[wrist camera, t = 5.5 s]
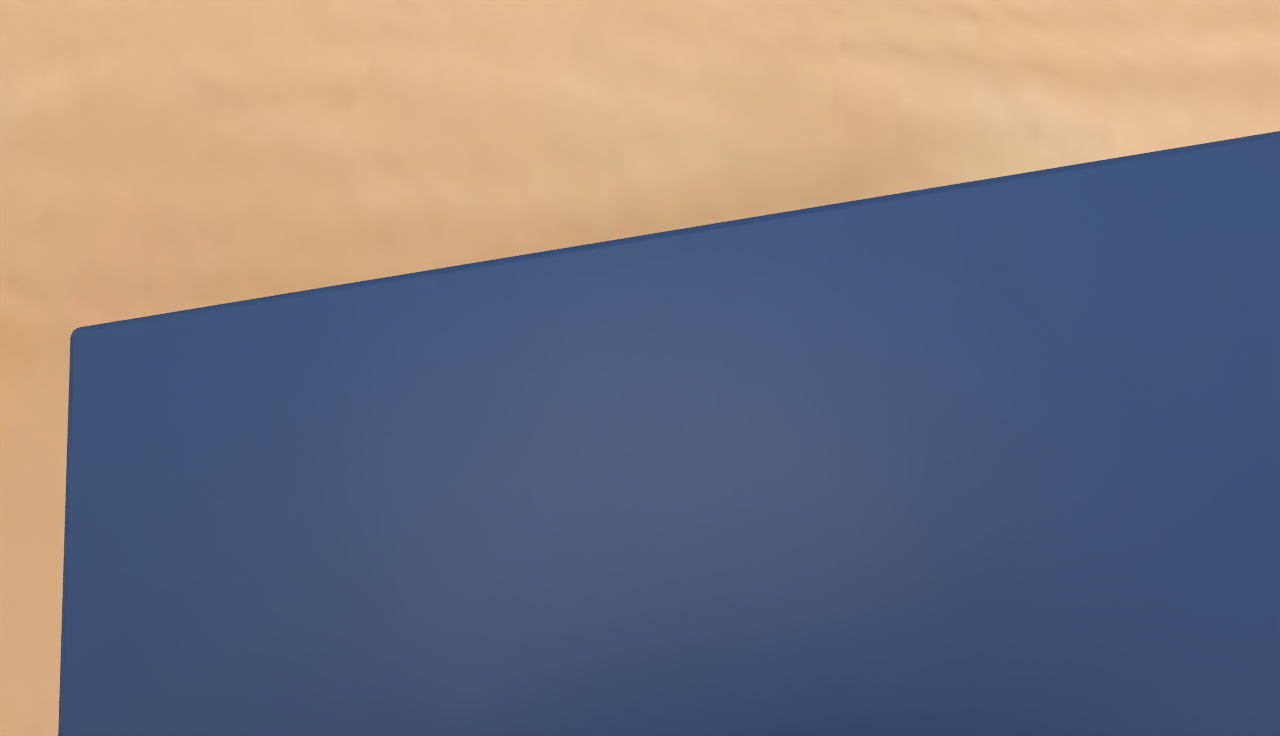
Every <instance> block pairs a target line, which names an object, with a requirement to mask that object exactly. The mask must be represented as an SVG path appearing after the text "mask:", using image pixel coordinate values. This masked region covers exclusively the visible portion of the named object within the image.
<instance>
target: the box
mask: <svg viewBox="0 0 1280 736" xmlns="http://www.w3.org/2000/svg"><path fill="white" fill-rule="evenodd" d="M58 736H1280V131H1278V132H1272V133H1266V134H1260V135H1254V136H1248V137H1242V138H1236V139H1229V140H1223V141H1217V142H1211V143H1205V144H1199V145H1193V146H1187V147H1181V148H1174V149H1168V150H1162V151H1156V152H1150V153H1144V154H1138V155H1132V156H1125V157H1119V158H1113V159H1107V160H1101V161H1095V162H1089V163H1083V164H1077V165H1070V166H1064V167H1058V168H1052V169H1046V170H1040V171H1034V172H1028V173H1022V174H1015V175H1009V176H1003V177H997V178H991V179H985V180H979V181H973V182H966V183H960V184H954V185H948V186H942V187H936V188H930V189H924V190H918V191H911V192H905V193H899V194H893V195H887V196H881V197H875V198H869V199H863V200H856V201H850V202H844V203H838V204H832V205H826V206H820V207H814V208H807V209H801V210H795V211H789V212H783V213H777V214H771V215H765V216H759V217H752V218H746V219H740V220H734V221H728V222H722V223H716V224H710V225H704V226H697V227H691V228H685V229H679V230H673V231H667V232H661V233H655V234H648V235H642V236H636V237H630V238H624V239H618V240H612V241H606V242H600V243H593V244H587V245H581V246H575V247H569V248H563V249H557V250H551V251H545V252H538V253H532V254H526V255H520V256H514V257H508V258H502V259H496V260H489V261H483V262H477V263H471V264H465V265H459V266H453V267H447V268H441V269H434V270H428V271H422V272H416V273H410V274H404V275H398V276H392V277H386V278H379V279H373V280H367V281H361V282H355V283H349V284H343V285H337V286H330V287H324V288H318V289H312V290H306V291H300V292H294V293H288V294H282V295H275V296H269V297H263V298H257V299H251V300H245V301H239V302H233V303H227V304H220V305H214V306H208V307H202V308H196V309H190V310H184V311H178V312H171V313H165V314H159V315H153V316H147V317H141V318H135V319H129V320H123V321H116V322H110V323H104V324H98V325H92V326H86V327H80V328H77V329H75V330H74V331H73V333H72V335H71V341H70V374H69V407H68V440H67V472H66V505H65V538H64V570H63V603H62V636H61V669H60V701H59V734H58Z"/></svg>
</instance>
